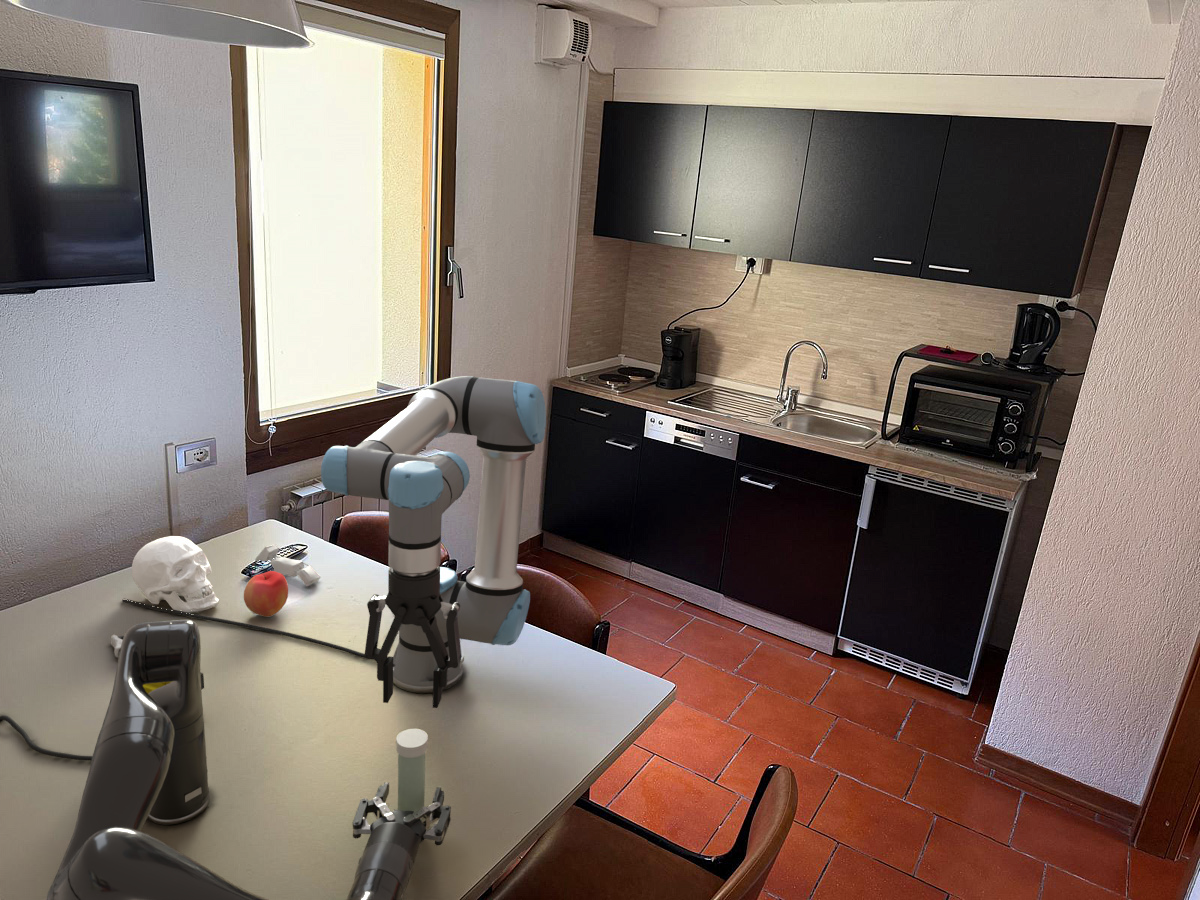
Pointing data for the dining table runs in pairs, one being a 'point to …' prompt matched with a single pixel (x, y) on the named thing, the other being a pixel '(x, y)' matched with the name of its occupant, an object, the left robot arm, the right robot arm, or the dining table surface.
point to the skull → (174, 574)
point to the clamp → (288, 565)
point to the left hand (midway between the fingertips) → (413, 789)
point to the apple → (266, 593)
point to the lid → (411, 743)
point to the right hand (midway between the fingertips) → (412, 700)
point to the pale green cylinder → (411, 783)
